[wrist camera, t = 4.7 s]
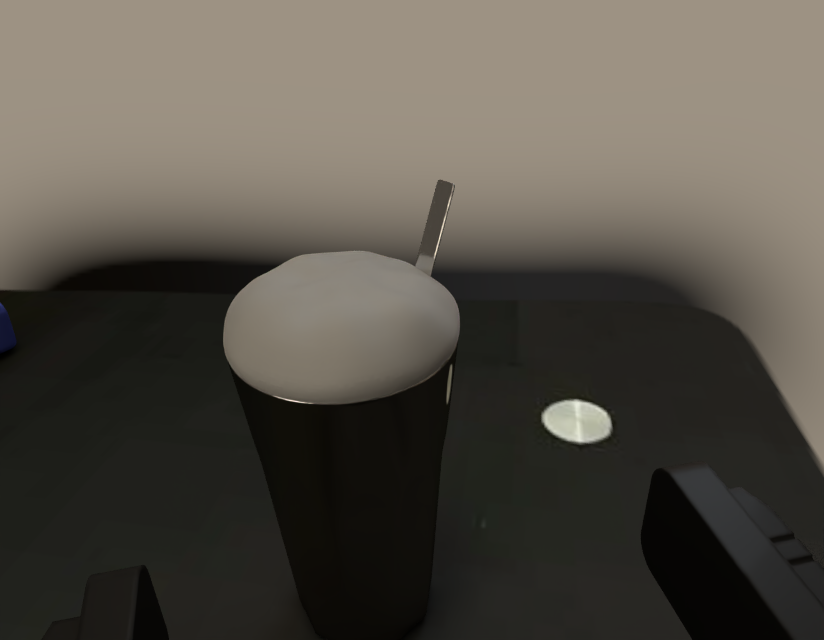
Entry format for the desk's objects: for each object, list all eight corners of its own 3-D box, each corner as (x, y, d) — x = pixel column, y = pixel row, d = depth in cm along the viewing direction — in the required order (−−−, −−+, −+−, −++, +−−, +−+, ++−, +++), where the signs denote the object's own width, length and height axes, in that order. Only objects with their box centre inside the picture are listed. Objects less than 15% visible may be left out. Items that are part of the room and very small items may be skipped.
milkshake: (514, 570, 19) (539, 211, 14) (361, 719, 16) (317, 326, 11) (390, 484, 22) (372, 156, 17) (239, 597, 19) (154, 235, 13)
